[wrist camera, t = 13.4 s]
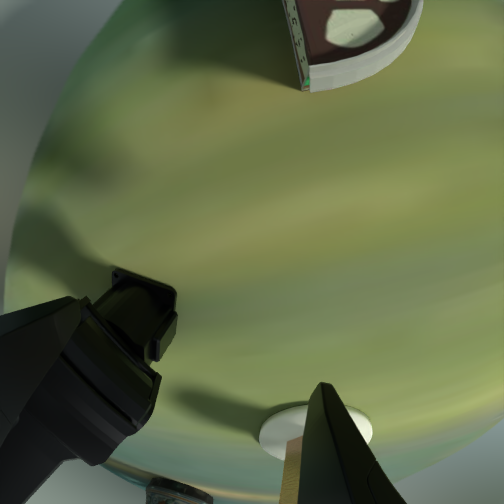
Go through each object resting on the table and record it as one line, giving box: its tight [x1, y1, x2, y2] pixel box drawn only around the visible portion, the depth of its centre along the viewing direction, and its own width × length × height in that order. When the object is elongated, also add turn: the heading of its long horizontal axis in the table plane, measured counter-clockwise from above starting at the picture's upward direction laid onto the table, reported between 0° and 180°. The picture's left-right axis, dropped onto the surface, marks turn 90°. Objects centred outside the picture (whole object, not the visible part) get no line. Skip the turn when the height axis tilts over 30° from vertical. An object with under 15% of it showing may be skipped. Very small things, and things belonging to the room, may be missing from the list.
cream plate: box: [259, 405, 372, 460], centre depth 29 cm, size 14×14×1 cm
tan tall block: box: [279, 436, 303, 504], centre depth 22 cm, size 5×5×13 cm
